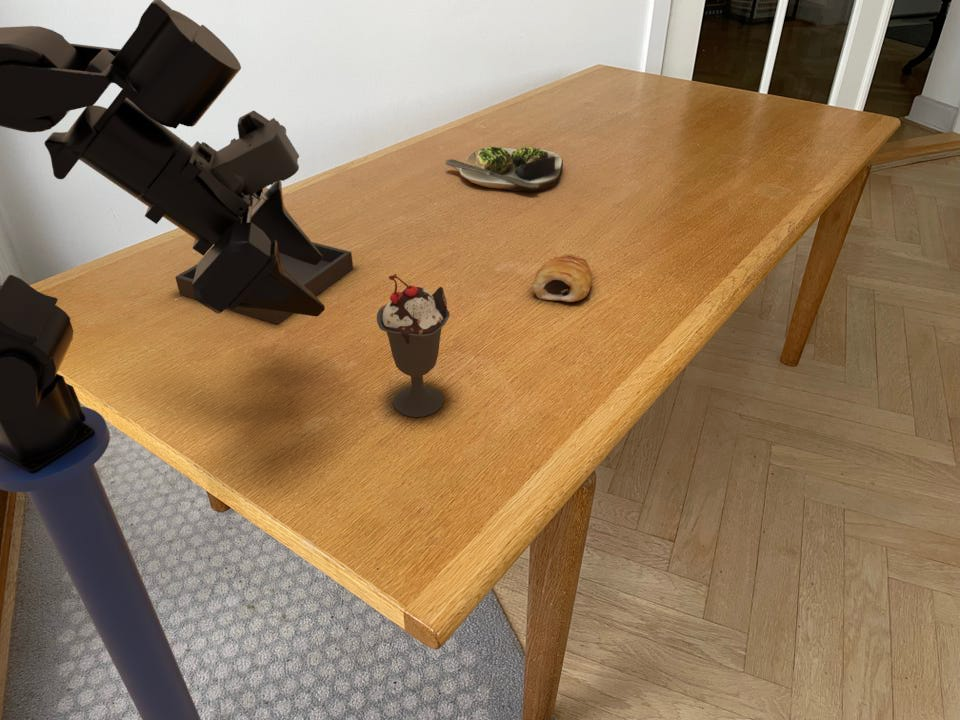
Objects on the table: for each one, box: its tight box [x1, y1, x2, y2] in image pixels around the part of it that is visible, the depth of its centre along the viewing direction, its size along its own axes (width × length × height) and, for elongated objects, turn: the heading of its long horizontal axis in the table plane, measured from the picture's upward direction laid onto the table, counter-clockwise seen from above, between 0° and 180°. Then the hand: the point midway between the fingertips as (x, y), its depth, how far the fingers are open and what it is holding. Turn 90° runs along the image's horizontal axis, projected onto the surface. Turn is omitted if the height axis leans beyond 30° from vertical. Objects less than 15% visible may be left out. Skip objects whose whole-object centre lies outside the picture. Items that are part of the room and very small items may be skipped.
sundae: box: [376, 273, 451, 418], centre depth 67 cm, size 7×7×15 cm
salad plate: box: [444, 145, 564, 193], centre depth 120 cm, size 19×18×5 cm
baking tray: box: [175, 241, 354, 325], centre depth 91 cm, size 15×15×2 cm
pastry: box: [531, 253, 593, 303], centre depth 90 cm, size 9×7×4 cm
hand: (320, 285), depth 64 cm, fingers open, 9 cm apart
